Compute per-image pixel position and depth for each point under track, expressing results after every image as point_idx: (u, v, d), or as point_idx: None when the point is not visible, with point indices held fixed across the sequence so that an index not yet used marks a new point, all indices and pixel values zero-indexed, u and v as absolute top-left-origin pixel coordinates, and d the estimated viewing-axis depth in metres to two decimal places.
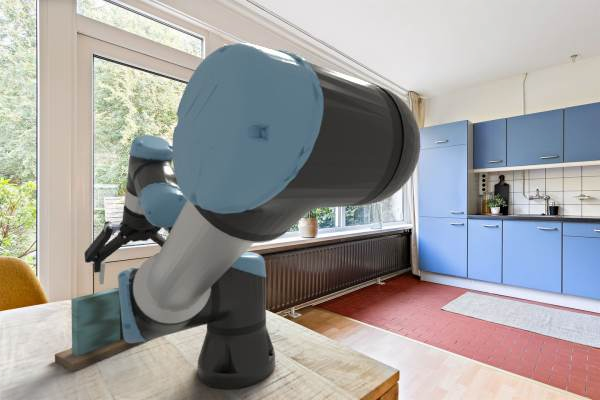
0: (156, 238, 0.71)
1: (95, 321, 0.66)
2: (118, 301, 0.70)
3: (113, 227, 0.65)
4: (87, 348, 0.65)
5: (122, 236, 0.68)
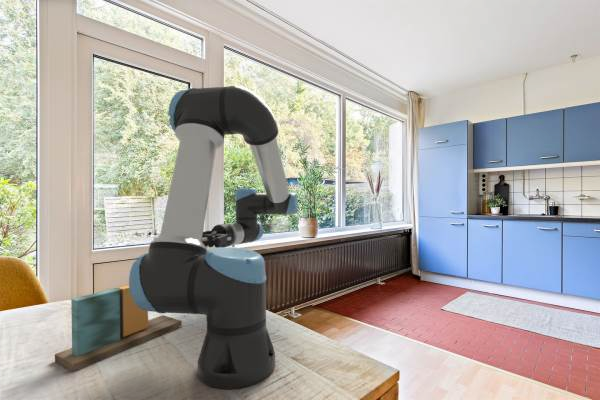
0: (214, 233, 0.93)
1: (95, 321, 0.66)
2: (118, 301, 0.70)
3: None
4: (87, 348, 0.65)
5: None
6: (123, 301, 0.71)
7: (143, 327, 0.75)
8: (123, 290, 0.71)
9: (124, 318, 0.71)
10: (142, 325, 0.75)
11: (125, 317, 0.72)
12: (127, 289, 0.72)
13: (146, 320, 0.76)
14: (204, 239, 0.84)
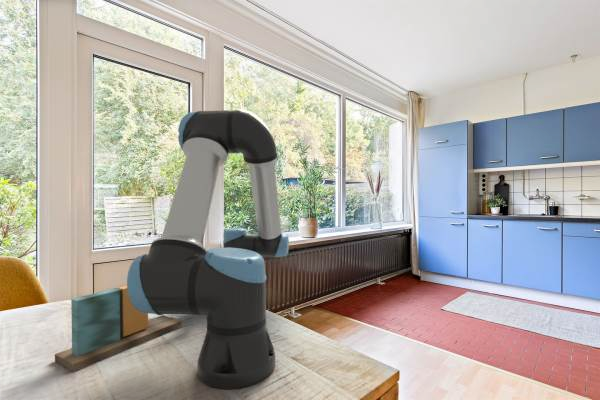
0: None
1: (95, 321, 0.66)
2: (118, 301, 0.70)
3: None
4: (87, 348, 0.65)
5: None
6: (123, 301, 0.71)
7: (143, 327, 0.75)
8: (123, 290, 0.71)
9: (124, 318, 0.71)
10: (142, 325, 0.75)
11: (125, 317, 0.72)
12: None
13: (146, 320, 0.76)
14: None
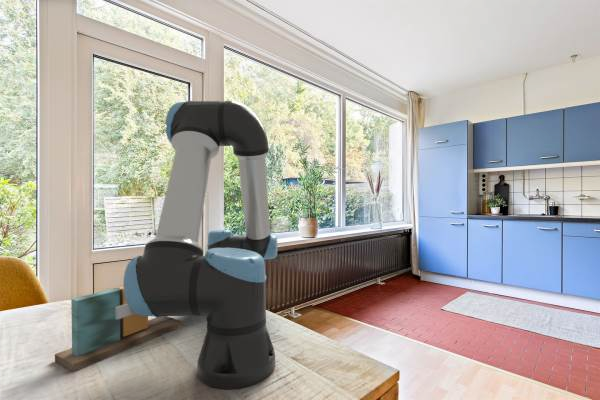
0: None
1: (95, 321, 0.66)
2: (118, 301, 0.70)
3: None
4: (87, 348, 0.65)
5: None
6: (123, 301, 0.71)
7: (143, 327, 0.75)
8: (123, 290, 0.71)
9: (124, 318, 0.71)
10: (142, 325, 0.75)
11: (125, 317, 0.72)
12: None
13: (146, 320, 0.76)
14: None
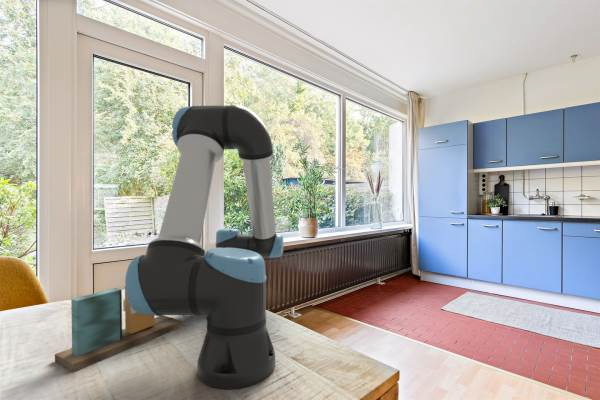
0: None
1: (95, 321, 0.66)
2: (118, 301, 0.70)
3: None
4: (87, 348, 0.65)
5: None
6: None
7: (150, 324, 0.77)
8: None
9: (131, 316, 0.73)
10: (149, 323, 0.77)
11: (133, 314, 0.73)
12: None
13: (152, 318, 0.78)
14: None
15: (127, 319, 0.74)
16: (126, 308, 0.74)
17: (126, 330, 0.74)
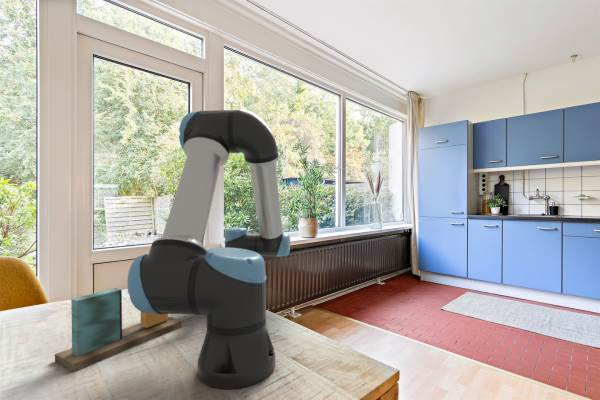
0: None
1: (95, 321, 0.66)
2: (118, 301, 0.70)
3: None
4: (87, 348, 0.65)
5: None
6: None
7: (163, 319, 0.80)
8: None
9: None
10: (163, 317, 0.80)
11: None
12: None
13: None
14: None
15: (142, 314, 0.77)
16: None
17: (141, 324, 0.77)
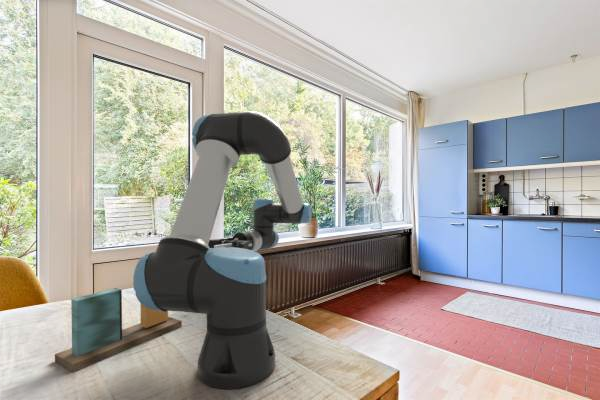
0: (237, 239, 1.01)
1: (95, 321, 0.66)
2: (118, 301, 0.70)
3: (224, 241, 1.08)
4: (87, 348, 0.65)
5: None
6: None
7: (163, 319, 0.80)
8: None
9: (147, 310, 0.76)
10: (163, 317, 0.80)
11: (148, 309, 0.77)
12: None
13: (166, 313, 0.81)
14: (229, 245, 0.92)
15: (142, 314, 0.77)
16: None
17: (141, 324, 0.77)
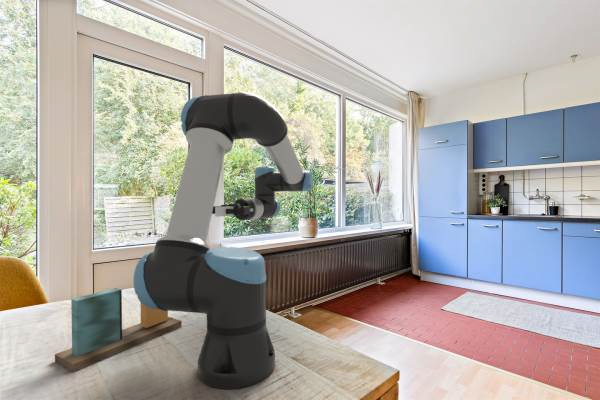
0: (238, 204, 1.00)
1: (95, 321, 0.66)
2: (118, 301, 0.70)
3: None
4: (87, 348, 0.65)
5: None
6: None
7: (163, 319, 0.80)
8: None
9: (147, 310, 0.76)
10: (163, 317, 0.80)
11: (148, 309, 0.77)
12: None
13: (166, 313, 0.81)
14: (231, 207, 0.92)
15: (142, 314, 0.77)
16: (141, 303, 0.77)
17: (141, 324, 0.77)
